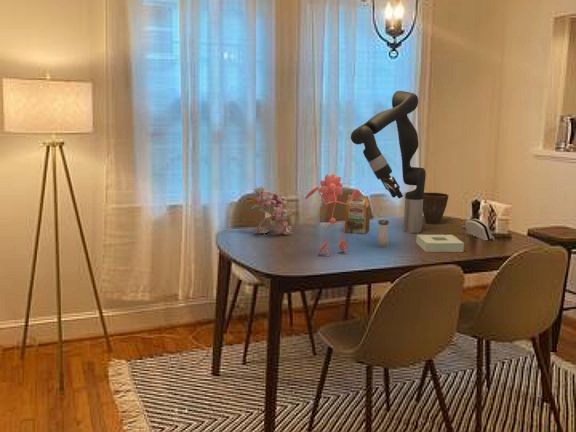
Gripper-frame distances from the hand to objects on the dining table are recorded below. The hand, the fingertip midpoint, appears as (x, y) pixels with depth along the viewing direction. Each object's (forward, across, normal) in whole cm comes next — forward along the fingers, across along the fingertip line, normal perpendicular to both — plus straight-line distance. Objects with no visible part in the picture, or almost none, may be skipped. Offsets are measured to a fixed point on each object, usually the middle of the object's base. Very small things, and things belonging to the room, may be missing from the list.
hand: (398, 197), depth 268 cm
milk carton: (+12, +36, +19) cm, 42 cm away
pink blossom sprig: (+4, -4, +40) cm, 41 cm away
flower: (-10, +34, +55) cm, 65 cm away
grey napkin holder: (+44, +20, -30) cm, 56 cm away
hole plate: (+30, +1, -5) cm, 31 cm away
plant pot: (+35, +55, -23) cm, 69 cm away
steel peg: (+17, +5, +17) cm, 24 cm away
